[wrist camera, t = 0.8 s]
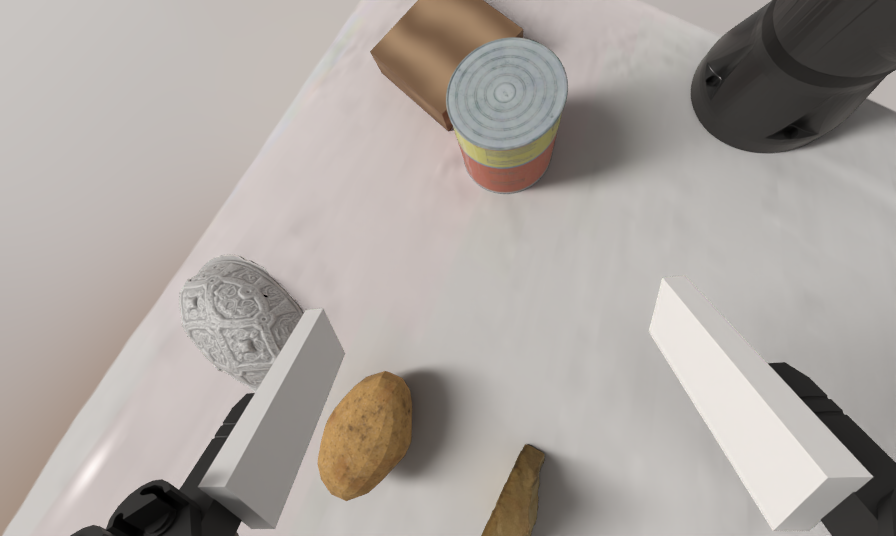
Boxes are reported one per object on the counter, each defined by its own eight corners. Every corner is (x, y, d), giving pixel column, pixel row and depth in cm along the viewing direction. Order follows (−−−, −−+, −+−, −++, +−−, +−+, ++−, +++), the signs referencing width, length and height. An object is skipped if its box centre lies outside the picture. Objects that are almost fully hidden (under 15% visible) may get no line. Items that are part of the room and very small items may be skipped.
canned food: (565, 122, 41) (585, 49, 30) (534, 204, 41) (542, 163, 29) (481, 102, 44) (470, 27, 32) (451, 179, 43) (428, 132, 32)
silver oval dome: (217, 231, 49) (171, 226, 43) (345, 326, 45) (315, 336, 38) (172, 316, 51) (121, 323, 44) (291, 416, 47) (254, 440, 40)
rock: (516, 422, 36) (447, 485, 35) (566, 491, 28) (480, 574, 28) (558, 467, 41) (498, 524, 40) (612, 537, 33) (539, 610, 32)
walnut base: (449, 0, 47) (444, -28, 43) (522, 54, 44) (523, 29, 40) (381, 72, 47) (370, 51, 43) (448, 131, 44) (441, 114, 40)
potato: (443, 388, 40) (427, 408, 33) (388, 490, 40) (359, 534, 32) (379, 347, 43) (349, 356, 35) (327, 443, 42) (285, 474, 35)
